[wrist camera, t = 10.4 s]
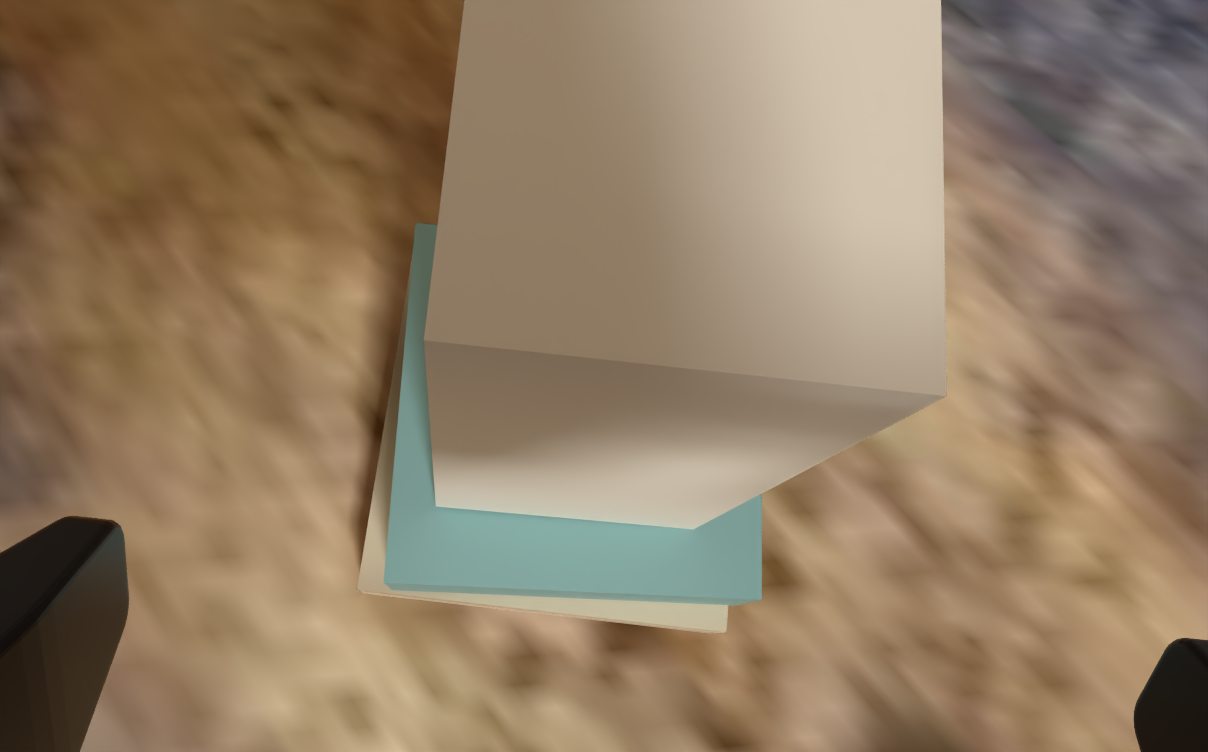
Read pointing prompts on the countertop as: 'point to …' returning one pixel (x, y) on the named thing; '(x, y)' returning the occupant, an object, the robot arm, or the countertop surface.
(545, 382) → the cream column
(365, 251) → the countertop surface
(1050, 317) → the countertop surface
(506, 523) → the teal square slab
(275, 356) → the countertop surface
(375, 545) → the tower base
